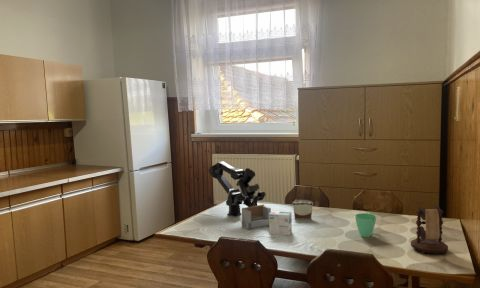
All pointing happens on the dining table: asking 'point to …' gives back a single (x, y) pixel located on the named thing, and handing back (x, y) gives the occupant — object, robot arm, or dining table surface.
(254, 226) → the grey u-channel
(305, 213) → the food container
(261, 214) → the cover
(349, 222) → the dining table surface
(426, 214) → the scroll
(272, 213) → the light bulb box
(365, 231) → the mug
